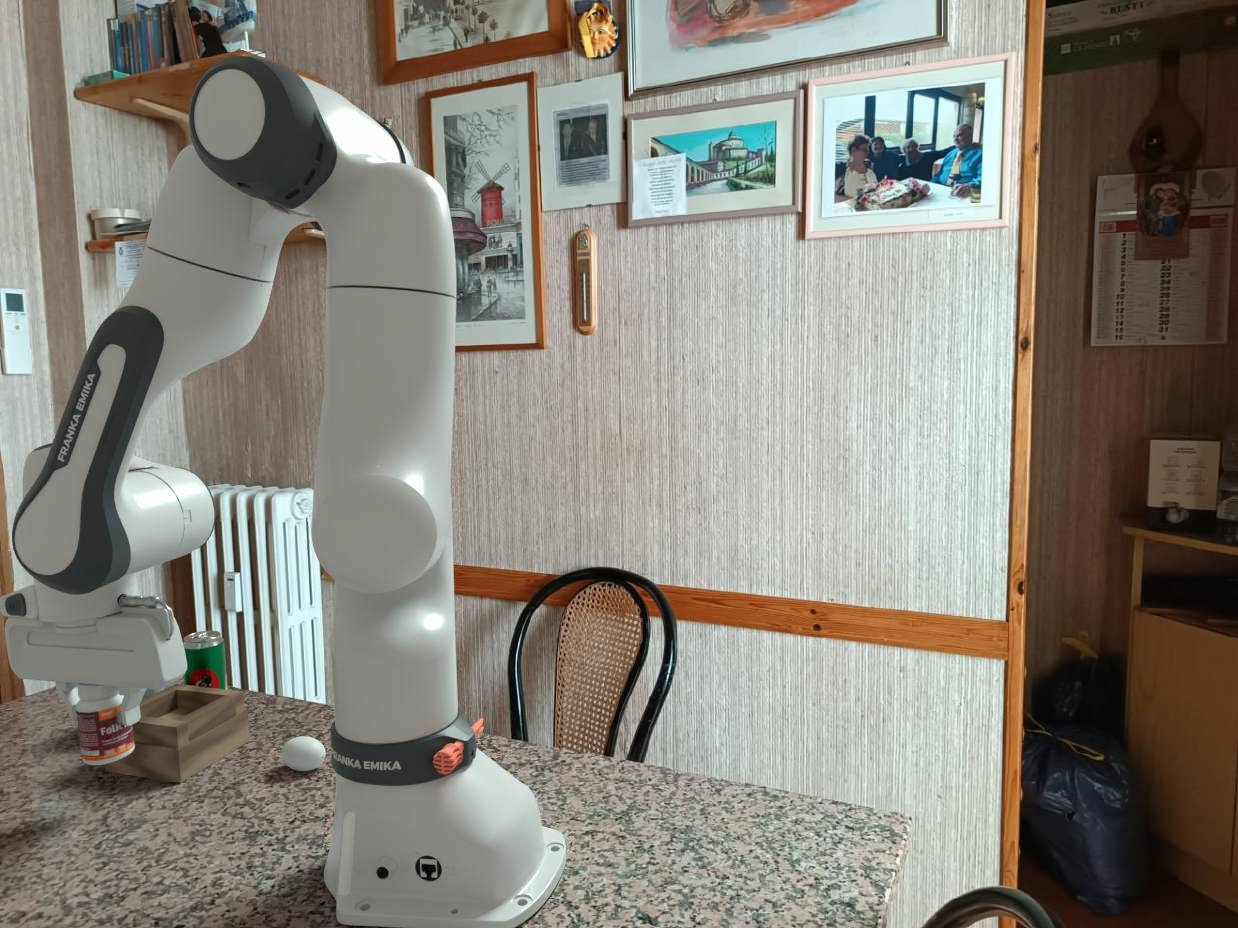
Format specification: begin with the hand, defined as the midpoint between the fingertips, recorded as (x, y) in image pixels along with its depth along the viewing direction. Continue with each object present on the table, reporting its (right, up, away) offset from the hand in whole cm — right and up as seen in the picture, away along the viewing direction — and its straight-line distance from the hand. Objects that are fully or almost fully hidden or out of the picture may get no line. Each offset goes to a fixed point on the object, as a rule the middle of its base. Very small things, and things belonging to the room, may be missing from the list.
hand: (105, 720), depth 84 cm
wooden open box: (+1, -8, +13) cm, 16 cm away
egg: (+17, -9, +10) cm, 22 cm away
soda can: (-1, -8, +22) cm, 24 cm away
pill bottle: (0, -4, 0) cm, 4 cm away
